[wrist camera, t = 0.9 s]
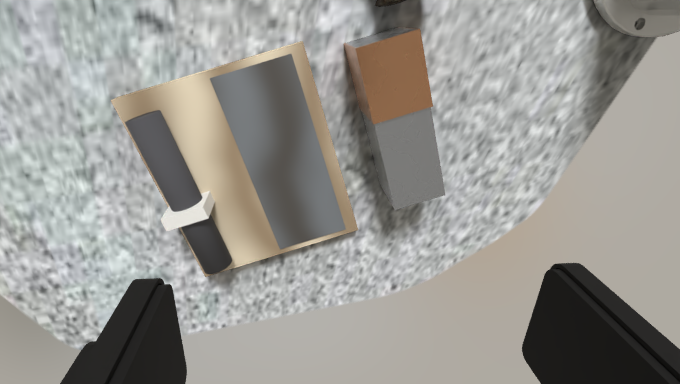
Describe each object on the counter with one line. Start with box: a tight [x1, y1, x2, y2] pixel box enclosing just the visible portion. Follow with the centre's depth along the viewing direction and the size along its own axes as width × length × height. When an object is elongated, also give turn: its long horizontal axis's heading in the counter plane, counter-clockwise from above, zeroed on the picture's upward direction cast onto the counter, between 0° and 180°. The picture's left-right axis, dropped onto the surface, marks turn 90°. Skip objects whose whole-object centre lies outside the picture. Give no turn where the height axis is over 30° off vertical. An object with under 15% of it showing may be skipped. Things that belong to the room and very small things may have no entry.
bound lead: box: [125, 110, 232, 274], centre depth 29 cm, size 3×13×3 cm, turn 16°
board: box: [111, 41, 358, 277], centre depth 31 cm, size 14×16×1 cm
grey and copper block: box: [344, 27, 445, 210], centre depth 29 cm, size 4×12×5 cm, turn 16°
